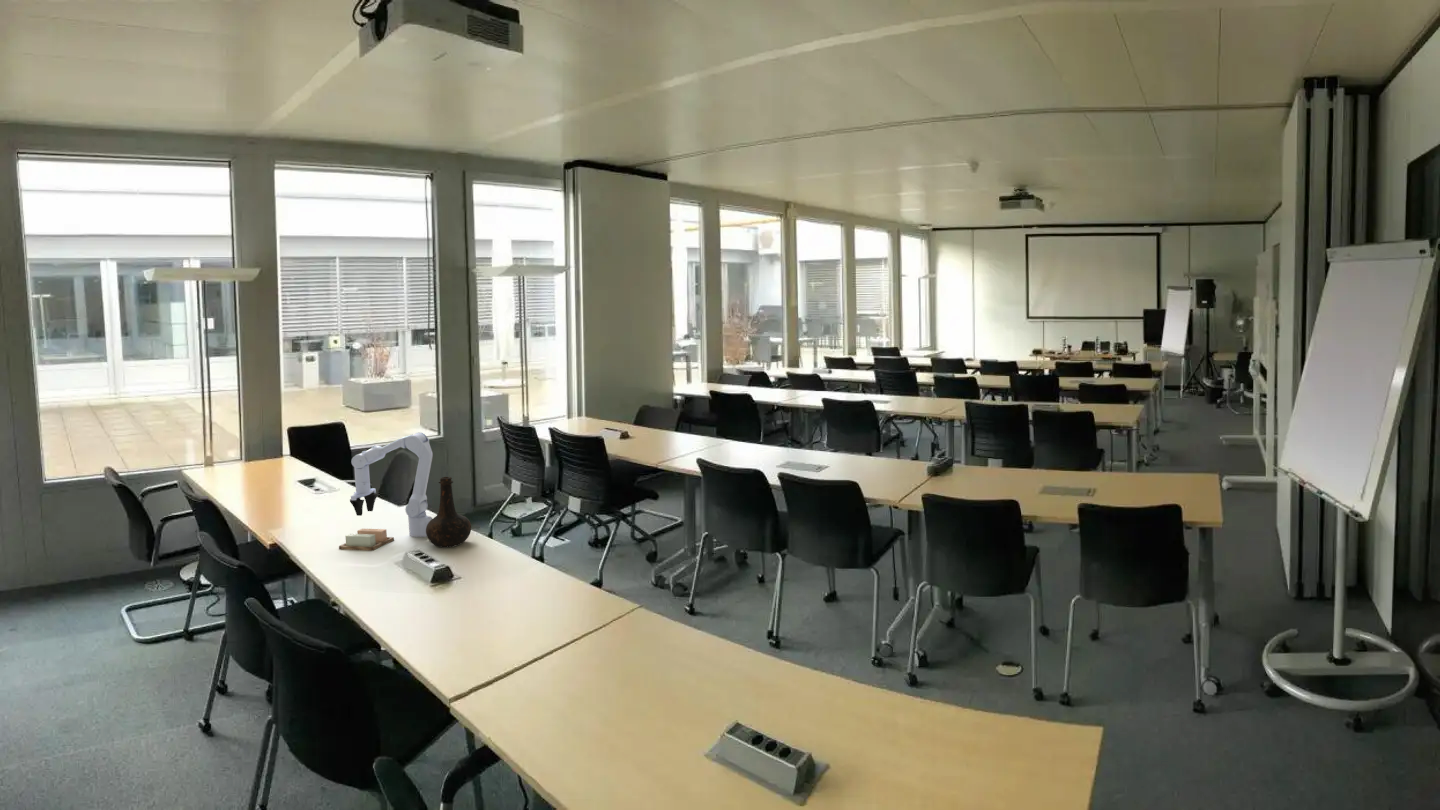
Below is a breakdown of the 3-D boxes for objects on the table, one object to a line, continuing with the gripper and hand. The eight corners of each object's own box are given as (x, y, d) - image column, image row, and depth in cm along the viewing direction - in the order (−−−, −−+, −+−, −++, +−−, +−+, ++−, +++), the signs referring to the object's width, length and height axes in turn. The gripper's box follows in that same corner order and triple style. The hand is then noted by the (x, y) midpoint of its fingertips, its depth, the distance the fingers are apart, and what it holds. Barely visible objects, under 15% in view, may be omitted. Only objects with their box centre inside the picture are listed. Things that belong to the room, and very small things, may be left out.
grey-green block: (375, 546, 346) (375, 534, 345) (370, 548, 342) (369, 536, 342) (351, 545, 348) (350, 533, 347) (346, 547, 344) (345, 535, 344)
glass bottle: (442, 553, 337) (437, 484, 333) (418, 545, 348) (413, 478, 345) (480, 543, 350) (477, 476, 347) (456, 536, 362) (452, 471, 358)
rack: (394, 542, 355) (393, 537, 354) (372, 552, 340) (372, 547, 340) (361, 540, 358) (361, 536, 357) (339, 550, 343) (338, 546, 343)
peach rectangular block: (387, 541, 353) (386, 529, 353) (382, 543, 350) (381, 531, 349) (363, 540, 355) (362, 528, 355) (358, 542, 352) (357, 530, 351)
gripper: (364, 478, 368) (366, 508, 370) (343, 485, 354) (345, 517, 356) (379, 478, 367) (381, 509, 369) (358, 485, 353) (360, 517, 354)
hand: (364, 513), depth 362 cm, fingers open, 7 cm apart
